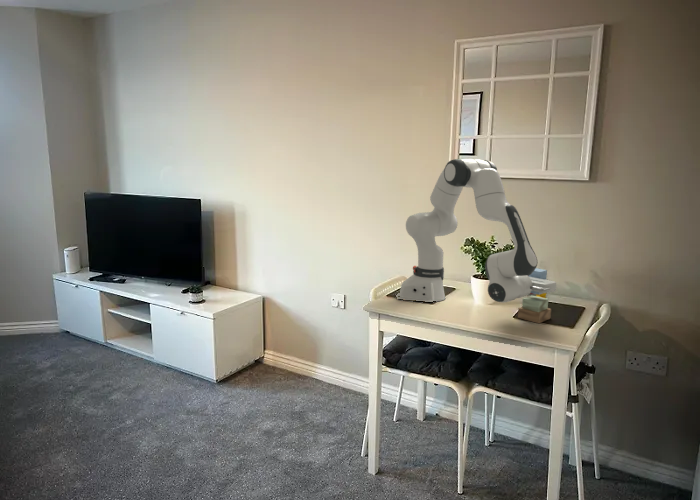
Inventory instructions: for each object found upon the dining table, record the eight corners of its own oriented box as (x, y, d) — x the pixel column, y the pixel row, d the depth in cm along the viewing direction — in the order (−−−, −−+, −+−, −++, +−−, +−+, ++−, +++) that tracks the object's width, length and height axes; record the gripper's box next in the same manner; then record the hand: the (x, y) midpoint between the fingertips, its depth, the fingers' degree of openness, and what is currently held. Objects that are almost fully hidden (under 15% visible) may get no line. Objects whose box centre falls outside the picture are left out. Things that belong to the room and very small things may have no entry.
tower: (539, 323, 192) (540, 303, 190) (517, 317, 198) (519, 298, 197) (550, 318, 198) (552, 299, 196) (529, 313, 204) (530, 294, 203)
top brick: (538, 294, 192) (540, 271, 191) (527, 292, 196) (528, 269, 195) (545, 292, 196) (547, 270, 194) (533, 290, 199) (535, 268, 198)
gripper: (546, 282, 178) (564, 276, 187) (496, 272, 193) (515, 267, 202) (545, 299, 180) (563, 292, 189) (495, 288, 195) (514, 282, 204)
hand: (538, 279), depth 196 cm, fingers closed on top brick, 5 cm apart
